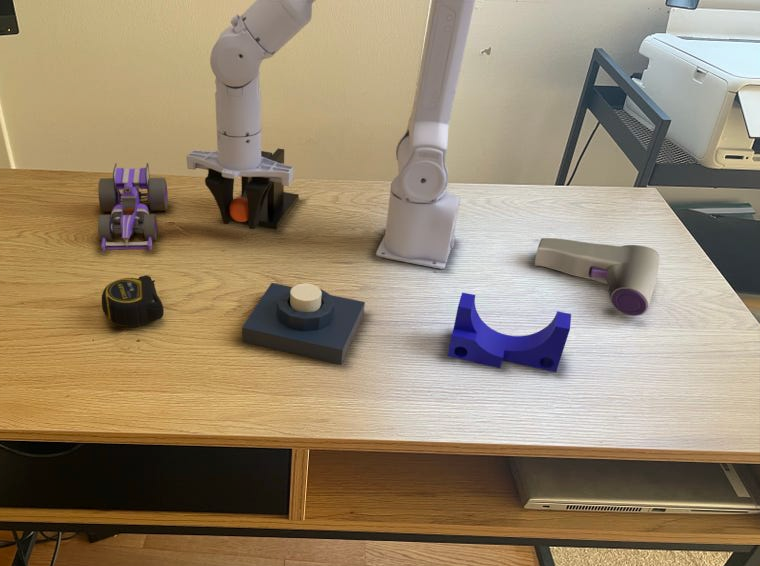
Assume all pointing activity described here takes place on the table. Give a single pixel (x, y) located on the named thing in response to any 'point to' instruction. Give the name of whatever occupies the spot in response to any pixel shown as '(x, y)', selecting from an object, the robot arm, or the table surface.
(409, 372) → the table surface
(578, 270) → the infrared thermometer
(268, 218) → the bracket
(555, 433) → the table surface
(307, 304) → the button
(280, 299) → the control block
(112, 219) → the toy race car
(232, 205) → the lever
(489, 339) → the blue semicircular cradle
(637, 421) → the table surface
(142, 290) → the tape measure
